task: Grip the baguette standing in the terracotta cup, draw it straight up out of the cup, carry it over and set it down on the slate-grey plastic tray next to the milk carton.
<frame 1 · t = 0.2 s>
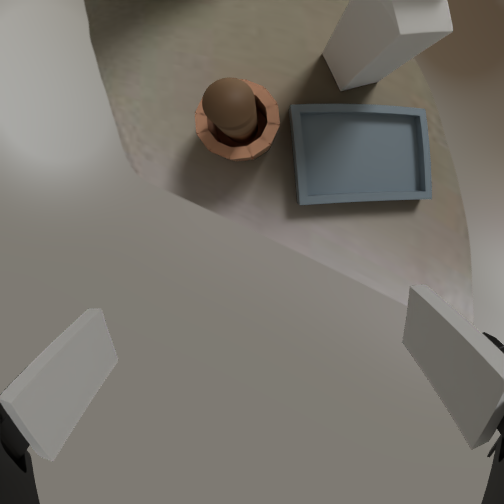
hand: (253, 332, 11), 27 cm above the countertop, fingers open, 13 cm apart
baguette: (241, 127, 34), point 1 cm above the countertop, touching cup
cup: (242, 128, 35), on the countertop
tray: (361, 153, 35), on the countertop
milk: (350, 67, 32), on the countertop
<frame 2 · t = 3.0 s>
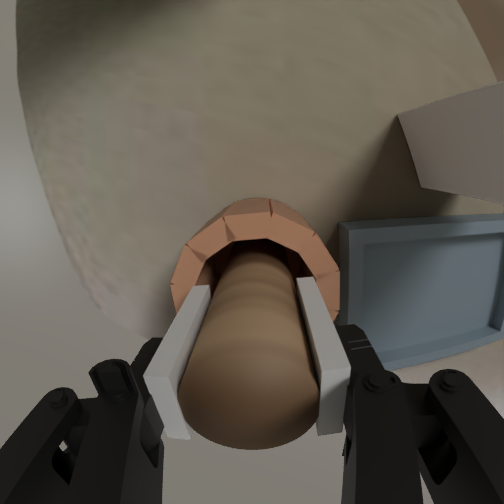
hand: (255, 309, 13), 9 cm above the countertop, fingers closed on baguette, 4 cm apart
baguette: (258, 259, 21), point 1 cm above the countertop, touching cup, gripper
cup: (258, 255, 22), on the countertop
tray: (434, 285, 22), on the countertop
milk: (436, 142, 19), on the countertop
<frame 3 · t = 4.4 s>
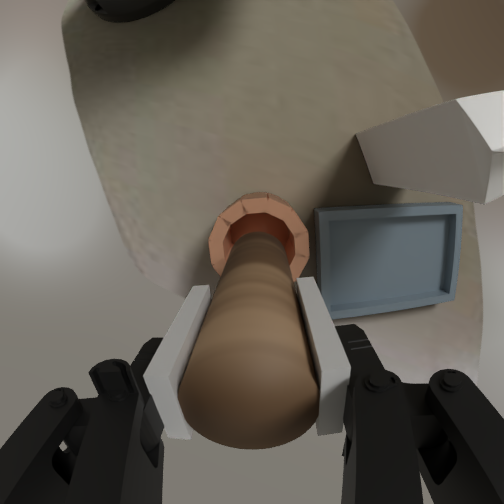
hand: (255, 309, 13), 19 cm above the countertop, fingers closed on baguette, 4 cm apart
baguette: (258, 259, 21), point 12 cm above the countertop, touching gripper
cup: (260, 231, 32), on the countertop
tray: (389, 254, 32), on the countertop
milk: (386, 151, 29), on the countertop
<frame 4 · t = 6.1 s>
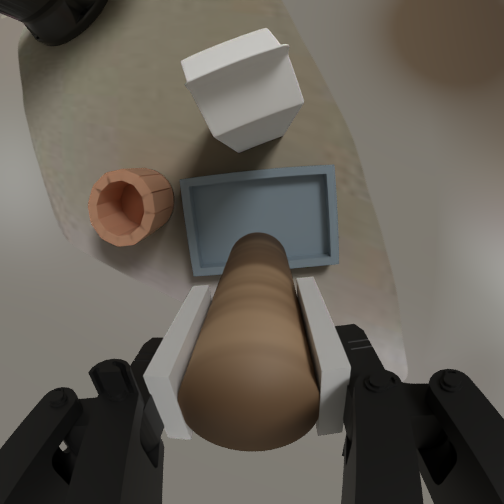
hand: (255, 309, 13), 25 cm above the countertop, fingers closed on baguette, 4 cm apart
baguette: (258, 260, 21), point 17 cm above the countertop, touching gripper
cup: (144, 200, 37), on the countertop
tray: (261, 217, 37), on the countertop
milk: (251, 123, 34), on the countertop
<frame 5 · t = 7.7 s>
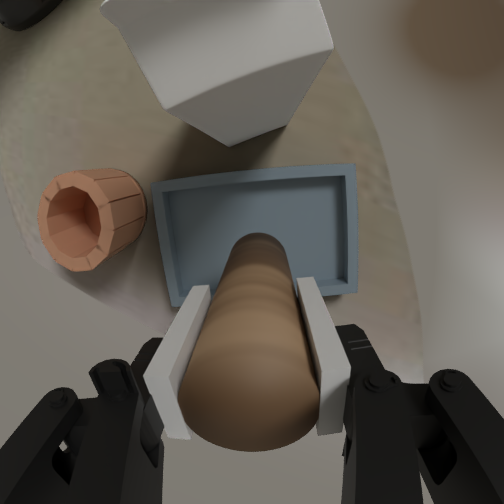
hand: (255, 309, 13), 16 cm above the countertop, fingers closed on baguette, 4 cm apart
baguette: (258, 260, 21), point 8 cm above the countertop, touching gripper
cup: (111, 209, 28), on the countertop
tray: (258, 232, 29), on the countertop
milk: (246, 108, 26), on the countertop
when the fingers open (9 cm above the countertop, at t = 9.2 s): baguette stays where it is, resting on tray.
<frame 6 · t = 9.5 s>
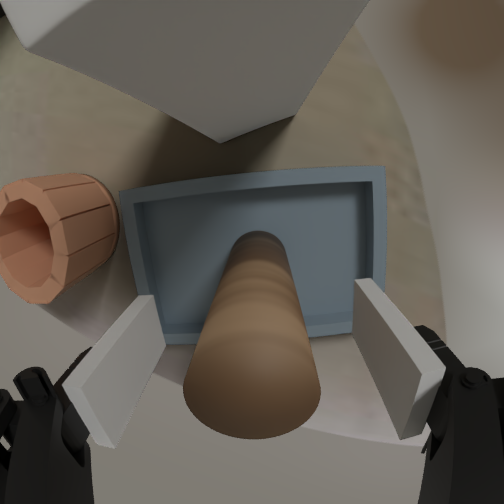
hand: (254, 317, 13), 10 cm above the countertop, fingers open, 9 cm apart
baguette: (258, 258, 21), point 1 cm above the countertop, touching tray
cup: (79, 222, 22), on the countertop
tray: (258, 252, 22), on the countertop
milk: (242, 93, 19), on the countertop
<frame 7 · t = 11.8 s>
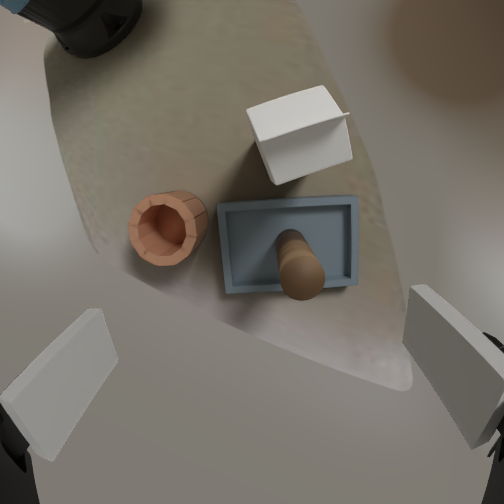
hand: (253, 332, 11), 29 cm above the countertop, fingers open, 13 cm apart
baguette: (290, 243, 39), point 1 cm above the countertop, touching tray
cup: (178, 220, 40), on the countertop
tray: (289, 241, 40), on the countertop
milk: (283, 153, 38), on the countertop
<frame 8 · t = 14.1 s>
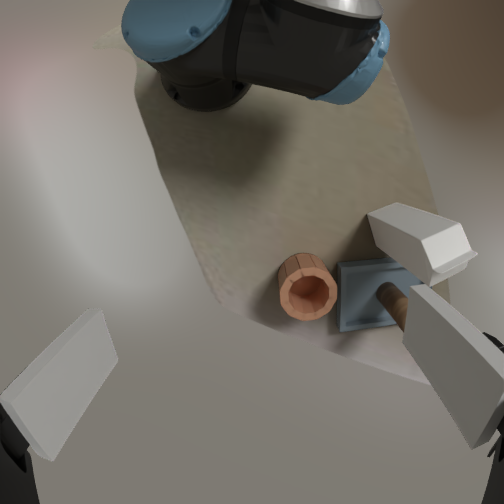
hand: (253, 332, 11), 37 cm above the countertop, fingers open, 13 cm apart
baguette: (386, 292, 49), point 1 cm above the countertop, touching tray
cup: (302, 276, 50), on the countertop
tray: (383, 289, 50), on the countertop
milk: (385, 223, 47), on the countertop
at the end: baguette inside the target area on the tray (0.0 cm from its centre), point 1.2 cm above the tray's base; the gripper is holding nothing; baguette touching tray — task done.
